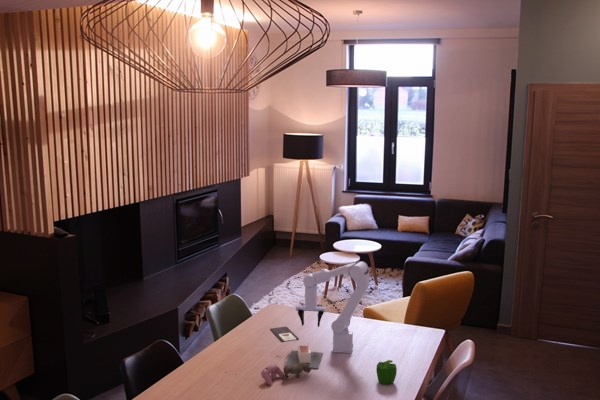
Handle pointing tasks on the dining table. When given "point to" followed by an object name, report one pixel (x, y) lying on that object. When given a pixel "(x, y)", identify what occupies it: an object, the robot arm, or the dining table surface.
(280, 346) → the dining table surface
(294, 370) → the rhino figurine
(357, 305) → the robot arm
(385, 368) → the bell pepper
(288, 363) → the charcoal mat
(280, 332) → the chocolate bar
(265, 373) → the pink gorilla figurine
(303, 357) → the card deck
